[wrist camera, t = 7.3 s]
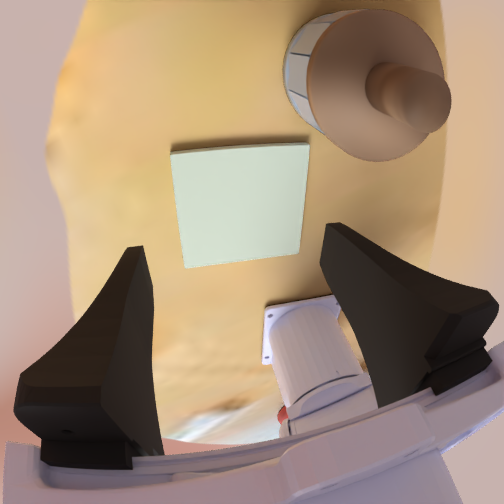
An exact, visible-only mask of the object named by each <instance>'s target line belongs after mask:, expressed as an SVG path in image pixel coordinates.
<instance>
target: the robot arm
mask: <svg viewBox="0 0 504 504" xmlns="http://www.w3.org/2000/svg"><path fill="white" fill-rule="evenodd" d="M320 266H321V268H322V271H323V274H324V276H325V279H326V281H327V283H328V285H329V287H330V289H331V291H332V293H333V294H334V295H329V296H324V297H318V298H313V299H308V300H302V301H296V302H290V303H285V304H279V305H273V306H268V307H266V308H265V310H264V328H263V345H262V364H264V365H266V364H272V367H273V370H274V373H275V376H276V380H277V383H278V386H279V389H280V392H281V395H282V398H283V401H284V404H285V406H286V411H287V414H288V417H289V418H288V419H285V420H283V422H282V425H281V427H280V430H279V437H280V438H278V439H273V440H269V441H264V442H259V443H254V444H249V445H243V446H238V447H232V448H226V449H218V450H211V451H204V452H196V453H186V454H176V455H165V454H164V450H163V445H162V440H161V434H160V428H159V422H158V416H157V409H156V401H155V393H154V384H153V373H152V339H153V319H154V298H153V285H152V281H151V277H150V273H149V269H148V265H147V261H146V257H145V252H144V248H143V246H135V247H128V248H127V249H126V250H125V252H124V253H123V255H122V257H121V259H120V260H119V262H118V264H117V265H116V267H115V269H114V271H113V272H112V274H111V275H110V277H109V279H108V280H107V282H106V284H105V285H104V287H103V288H102V290H101V291H100V293H99V294H98V295H97V297H96V298H95V300H94V301H93V303H92V304H91V305H90V307H89V308H88V309H87V311H86V312H85V313H84V315H83V316H82V317H81V318H80V319H79V321H78V322H77V323H76V324H75V325H74V326H73V327H72V328H71V329H70V330H69V331H68V333H67V334H66V335H65V336H64V337H63V338H62V339H61V340H60V341H59V342H58V343H57V344H56V345H55V346H54V347H53V348H52V349H50V350H49V351H48V352H47V353H46V354H45V355H43V356H42V357H41V358H40V359H39V360H38V361H36V362H35V363H34V364H32V365H31V366H30V367H28V368H27V369H26V370H25V371H23V372H22V373H21V374H20V378H19V382H18V386H17V392H16V397H15V403H14V414H15V416H16V417H17V419H18V420H19V421H20V422H21V423H22V424H23V425H24V426H26V427H27V428H28V429H29V430H31V431H32V432H33V433H34V434H36V435H37V436H38V437H40V438H41V439H42V440H41V447H38V446H35V445H32V444H25V443H18V442H11V441H8V442H6V449H5V460H4V476H3V478H4V479H3V504H463V503H462V500H461V498H460V496H459V493H458V491H457V489H456V487H455V484H454V482H453V480H452V478H451V475H450V473H449V471H448V469H447V467H446V465H445V462H444V460H443V458H442V456H441V454H443V453H444V452H446V451H448V450H449V449H451V448H452V447H454V446H456V445H457V444H459V443H460V442H462V441H463V440H465V439H466V438H468V437H469V436H471V435H472V434H474V433H475V432H477V431H478V430H480V429H481V428H482V427H484V426H485V425H486V424H488V423H489V422H491V421H492V420H493V419H495V418H496V417H497V416H499V415H500V414H501V413H503V412H504V341H503V342H501V343H500V344H498V345H496V346H494V347H493V348H491V349H490V350H489V351H488V352H487V351H486V350H485V349H484V346H485V345H486V341H485V340H484V338H483V336H484V334H485V333H486V332H487V330H488V329H489V327H490V326H491V324H492V323H493V321H494V320H495V318H496V316H497V313H498V311H499V304H498V302H497V301H496V300H495V299H494V298H493V297H492V295H491V294H490V293H489V292H488V291H487V290H482V289H478V288H474V287H470V286H466V285H462V284H459V283H456V282H452V281H450V280H447V279H444V278H441V277H439V276H436V275H434V274H431V273H429V272H427V271H424V270H422V269H420V268H418V267H416V266H414V265H412V264H410V263H408V262H406V261H404V260H402V259H400V258H398V257H397V256H395V255H393V254H391V253H390V252H388V251H386V250H385V249H383V248H381V247H380V246H378V245H376V244H375V243H373V242H372V241H370V240H369V239H367V238H365V237H364V236H362V235H361V234H359V233H357V232H356V231H354V230H353V229H351V228H349V227H348V226H346V225H344V224H342V223H340V222H338V223H328V224H326V228H325V235H324V241H323V247H322V252H321V258H320ZM341 309H342V310H343V312H344V314H345V316H346V318H347V319H348V321H349V323H350V325H351V327H352V329H353V331H354V333H355V336H356V338H357V341H358V343H359V346H360V348H361V351H362V354H363V357H364V360H365V363H366V365H367V368H368V372H369V375H370V378H371V380H370V378H369V376H368V374H367V372H365V373H364V372H363V370H362V368H361V366H360V364H359V362H358V360H357V358H356V356H355V354H354V352H353V350H352V348H351V346H350V344H349V342H348V341H347V339H346V337H345V335H344V333H343V331H342V329H341V327H340V325H339V323H338V321H337V320H338V316H339V313H340V310H341ZM269 314H270V315H269Z"/></svg>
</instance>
